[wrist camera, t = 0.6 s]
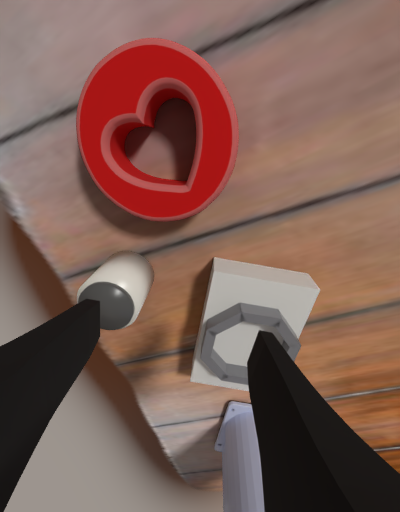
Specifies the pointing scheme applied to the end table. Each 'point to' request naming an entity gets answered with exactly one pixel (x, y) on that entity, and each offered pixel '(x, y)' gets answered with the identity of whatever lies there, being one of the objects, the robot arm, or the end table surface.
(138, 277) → the lens
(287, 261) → the end table surface
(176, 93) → the decorative ornament
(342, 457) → the robot arm
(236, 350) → the plate with octagonal ring
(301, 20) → the end table surface
